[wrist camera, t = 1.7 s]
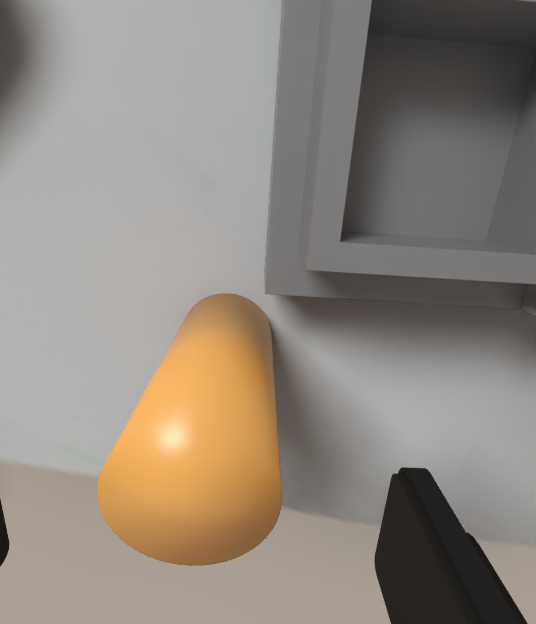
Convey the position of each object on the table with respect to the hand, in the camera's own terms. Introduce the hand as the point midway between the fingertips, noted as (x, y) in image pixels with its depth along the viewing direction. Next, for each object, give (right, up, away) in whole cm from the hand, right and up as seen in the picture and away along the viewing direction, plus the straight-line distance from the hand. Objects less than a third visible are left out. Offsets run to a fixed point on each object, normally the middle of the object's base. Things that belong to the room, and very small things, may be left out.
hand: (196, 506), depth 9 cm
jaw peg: (0, +4, +8) cm, 9 cm away
